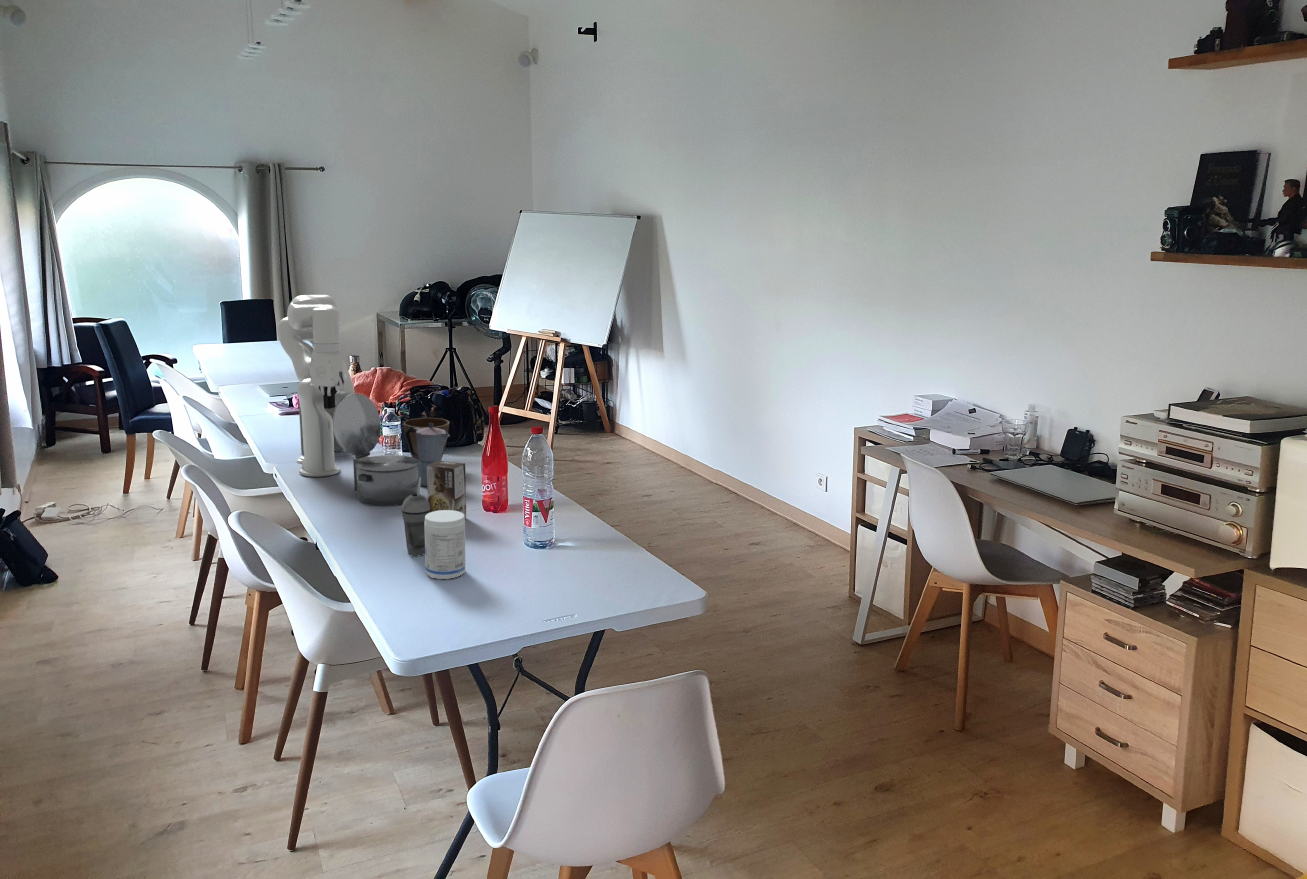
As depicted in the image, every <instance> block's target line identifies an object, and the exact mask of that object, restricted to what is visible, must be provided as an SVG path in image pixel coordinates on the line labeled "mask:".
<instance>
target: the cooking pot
mask: <svg viewBox="0 0 1307 879" xmlns="http://www.w3.org/2000/svg"><path fill="white" fill-rule="evenodd" d="M352 460H353V483H354V492H357V494H356V495H357V501H358V503H361V504H362V505H367V506H373V507H391V506H392V507H393V506H394V507H395V506H402V505H403V502H404V500H405V499H406V498H407V497H408V496H410V495H412V494H417V493H418V484H419V476H418V464H419V461H418V460H417V459H416V458H413V457H412V456H408V455H401V454H400V455H398V454H387V455H385V454H383V455H373V456H366V457H363V458H359V459H356V458H353V459H352Z"/></svg>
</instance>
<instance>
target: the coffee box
mask: <svg viewBox="0 0 1307 879" xmlns="http://www.w3.org/2000/svg"><path fill="white" fill-rule="evenodd" d="M466 482H467V480H466V463H462V462H455V461H445V460H441V461H436V462H434V463H432V464H430V465H427V485H428V486H427V500H428V501H429V504H430V508H431V511H430V512H434V511H439V510H453V511H459V512H461V513H463V514H464V518H465V519H467V492H466V491H467V490H466V489H467V488H466V486H467V485H466Z"/></svg>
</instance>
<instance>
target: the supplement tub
mask: <svg viewBox="0 0 1307 879" xmlns="http://www.w3.org/2000/svg"><path fill="white" fill-rule="evenodd" d="M465 519H466V518H464V514H463V513H461V512H459V511H453V510H439V511H434V512H430V513H428V514H427V515H426V516H425V522H424V523H425V524H424V526H425V555H424V559H425V560H424V563H425V565H424V567H425V570H424V571H425V574H426V575H427V576H428V577H429V578H432V579H434V578H436V579H435V580H441V579H446V580H450V579H449V578H454V579H456V578H455V577H457V578H459V577H458V576H460V575H461V576H463V575H464V574H465V573H466V520H465ZM463 573H464V574H463ZM462 574H463V575H462ZM461 576H460V577H461Z"/></svg>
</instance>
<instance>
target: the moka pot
mask: <svg viewBox="0 0 1307 879" xmlns="http://www.w3.org/2000/svg"><path fill="white" fill-rule="evenodd" d="M433 424H434V423H429V428H422V429H420V428H415V427H412V426H410V428H409V429H408V430H407V431H406V433H405V438H406V441H408V442H407V445H408V444H409V446H408V449H409V448H410V450H409V452H411V453H410V455H411V454H412V455H415V456H417V455H418V454H419V464H418V476H419V477H421V485H420V487H421V486H422V487H428V485H427V465H430V464H432V463H434V462H436V461H442V460H441V459H443V457H442V453H443V447H444V444H445V442H446V443H447V441H446V440H448V438H449V437H450V434H449V432H448V433H446V431H445V430H443V429H439V428H433ZM410 432H413V433H415V434H416V439H417V449H418V453H416V452H414V450H413V448H412V443H411V438H410V435H409V433H410ZM443 454H444V453H443Z"/></svg>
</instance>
